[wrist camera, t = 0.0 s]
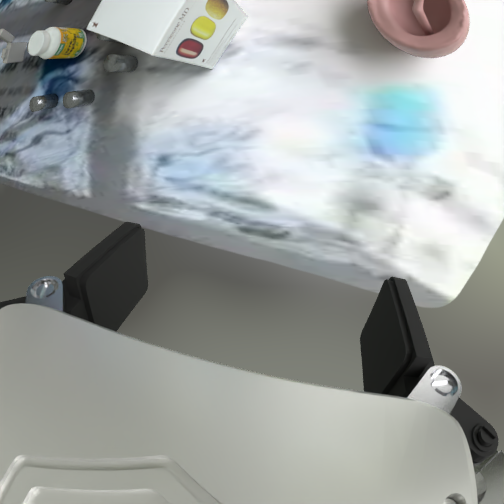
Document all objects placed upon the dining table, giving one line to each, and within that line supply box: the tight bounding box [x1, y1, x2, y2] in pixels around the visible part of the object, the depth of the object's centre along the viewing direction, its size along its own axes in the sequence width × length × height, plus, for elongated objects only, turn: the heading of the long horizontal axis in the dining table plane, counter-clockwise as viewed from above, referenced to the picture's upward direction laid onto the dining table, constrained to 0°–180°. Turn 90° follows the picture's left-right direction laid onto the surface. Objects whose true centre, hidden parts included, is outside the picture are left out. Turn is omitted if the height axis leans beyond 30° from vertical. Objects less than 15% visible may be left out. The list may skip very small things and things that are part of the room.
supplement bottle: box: [28, 27, 87, 59], centre depth 31 cm, size 5×5×10 cm
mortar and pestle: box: [367, 0, 469, 58], centre depth 21 cm, size 12×12×12 cm
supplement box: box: [87, 0, 248, 69], centre depth 25 cm, size 10×9×17 cm
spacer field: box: [27, 0, 138, 112], centre depth 32 cm, size 23×22×5 cm
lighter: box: [0, 29, 27, 63], centre depth 31 cm, size 7×2×8 cm, turn 158°
